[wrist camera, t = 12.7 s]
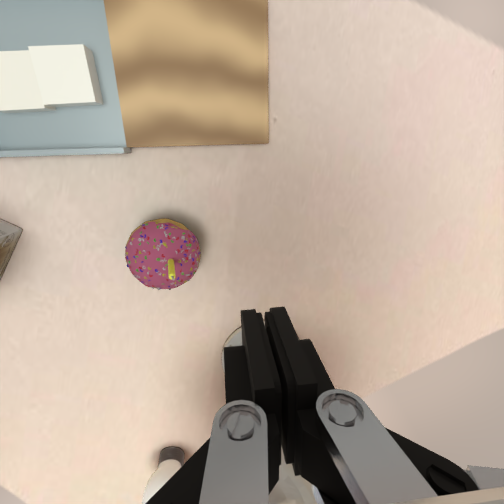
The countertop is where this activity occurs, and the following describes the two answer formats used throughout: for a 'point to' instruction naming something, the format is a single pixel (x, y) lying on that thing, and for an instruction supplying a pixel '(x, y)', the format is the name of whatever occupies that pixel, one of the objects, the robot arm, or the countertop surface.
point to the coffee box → (7, 242)
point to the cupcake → (162, 254)
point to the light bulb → (164, 470)
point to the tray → (64, 118)
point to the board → (191, 70)
